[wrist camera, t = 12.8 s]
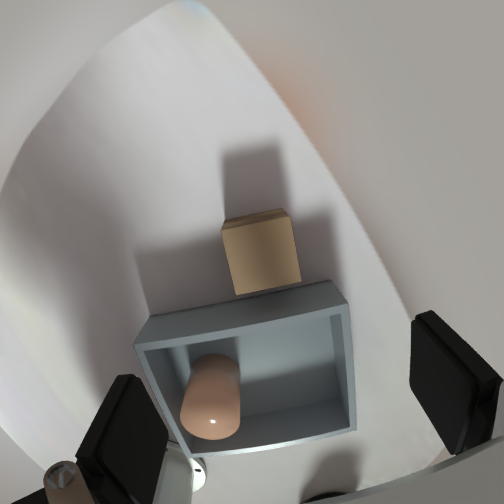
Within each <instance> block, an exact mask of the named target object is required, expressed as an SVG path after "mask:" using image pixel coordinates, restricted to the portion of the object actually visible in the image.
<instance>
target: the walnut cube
mask: <svg viewBox="0 0 504 504" xmlns="http://www.w3.org/2000/svg"><path fill="white" fill-rule="evenodd" d="M221 234H222V238H223V243H224V247H225V251H226V256H227V260H228V264H229V268H230V272H231V276H232V281H233V285H234V289H235V293H236V295H240V294H245V293H250V292H255V291H260V290H265V289H269V288H274V287H279V286H284V285H288V284H293V283H298V282H302V281H301V275H300V269H299V264H298V258H297V252H296V247H295V241H294V236H293V230H292V225H291V220H290V216H289V215H288V214H287V213H286V212H285V211H284V210H283V209H277V210H272V211H267V212H262V213H257V214H253V215H248V216H243V217H239V218H234V219H229V220H225V221H224V224H223V226H222V229H221Z"/></svg>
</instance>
